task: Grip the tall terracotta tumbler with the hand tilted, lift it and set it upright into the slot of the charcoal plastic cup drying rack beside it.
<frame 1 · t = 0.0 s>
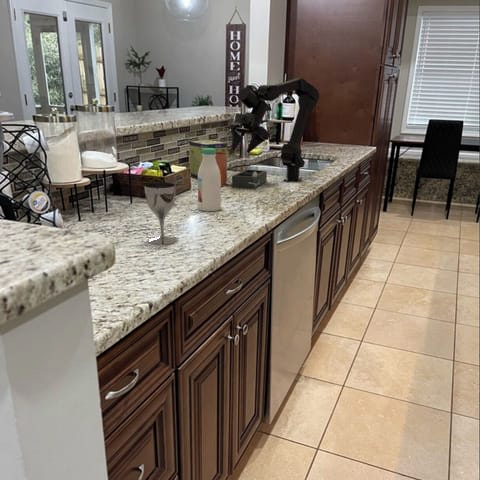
hand: (240, 151, 199), 15 cm above the countertop, tool tilted 35°, fingers open, 9 cm apart
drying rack: (249, 184, 215), on the countertop
wine glass: (162, 241, 137), on the countertop
tumbler: (218, 184, 212), on the countertop
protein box: (208, 178, 228), on the countertop
milk bottle: (209, 209, 172), on the countertop
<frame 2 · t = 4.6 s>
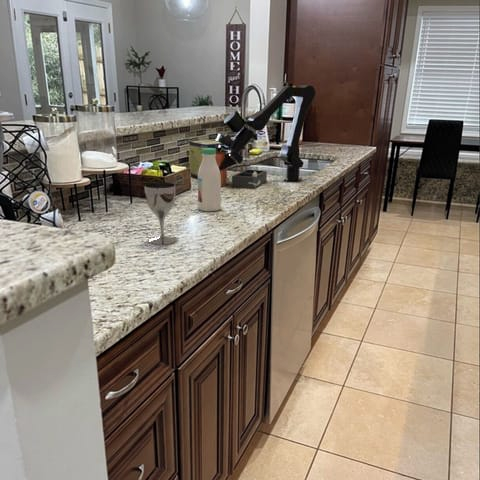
hand: (215, 169, 209), 7 cm above the countertop, tool tilted 45°, fingers closed on tumbler, 6 cm apart
tumbler: (218, 184, 212), on the countertop, touching gripper
everything else where it was.
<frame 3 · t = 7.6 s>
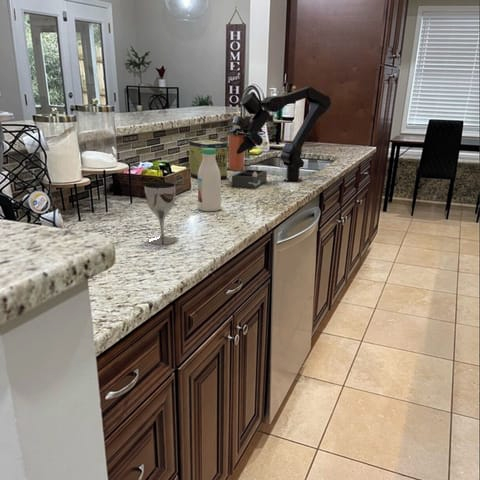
hand: (233, 152, 205), 14 cm above the countertop, tool tilted 45°, fingers closed on tumbler, 6 cm apart
tumbler: (236, 168, 208), point 7 cm above the countertop, touching gripper
everything else where it was.
when the fingers open (7 cm above the countertop, at t = 10.8 s): tumbler stays where it is, resting on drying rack.
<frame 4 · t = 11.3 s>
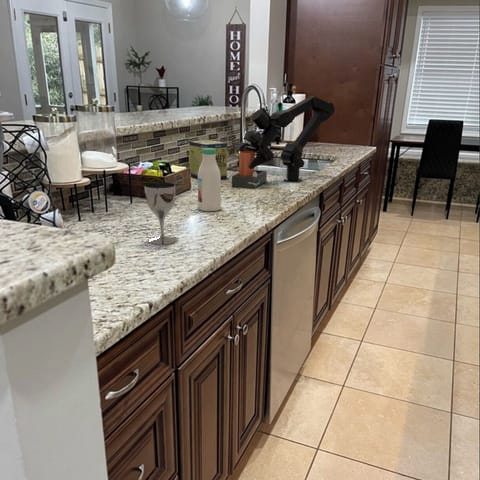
hand: (243, 166, 207), 8 cm above the countertop, tool tilted 45°, fingers open, 9 cm apart
tumbler: (246, 183, 211), point 1 cm above the countertop, touching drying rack
everything else where it was.
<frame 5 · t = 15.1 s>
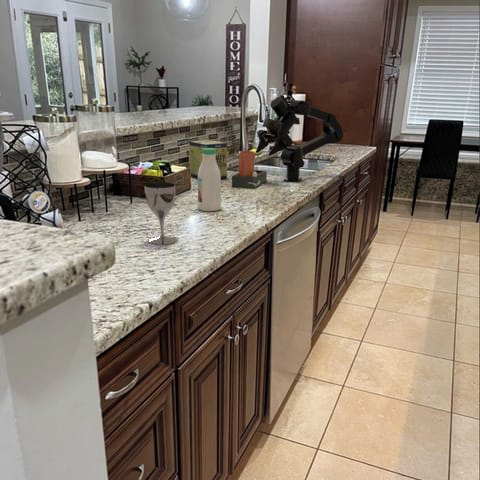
hand: (262, 153, 210), 13 cm above the countertop, tool tilted 45°, fingers open, 9 cm apart
nothing on the countertop moved.
at the end: tumbler 0.0 cm from the target spot in the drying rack, point 0.8 cm above the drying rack's base; tumbler tilted 0°; the gripper is holding nothing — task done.
